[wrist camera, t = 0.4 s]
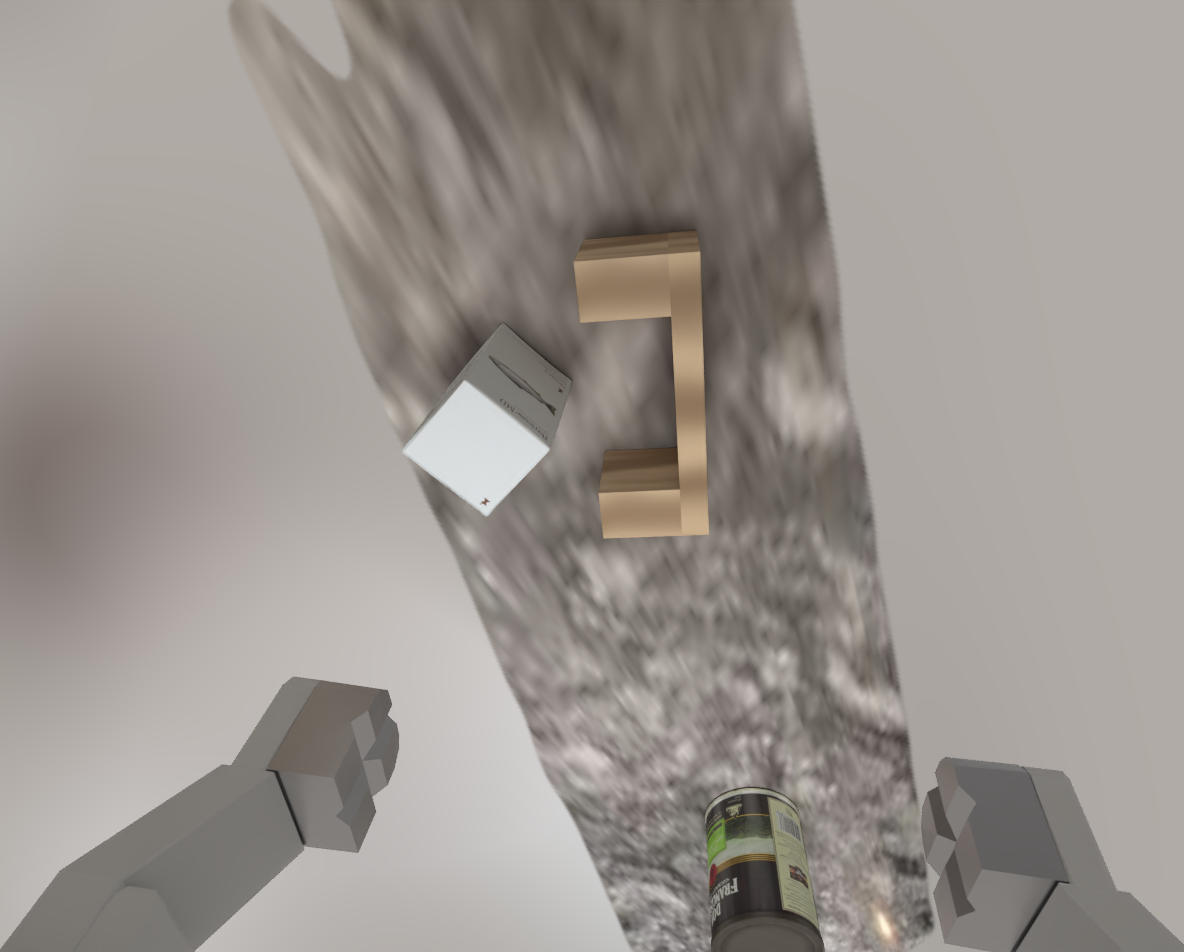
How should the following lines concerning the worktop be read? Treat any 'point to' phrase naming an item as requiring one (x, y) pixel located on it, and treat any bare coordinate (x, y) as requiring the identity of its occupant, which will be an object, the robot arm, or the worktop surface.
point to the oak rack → (661, 289)
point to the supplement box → (492, 421)
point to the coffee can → (759, 875)
